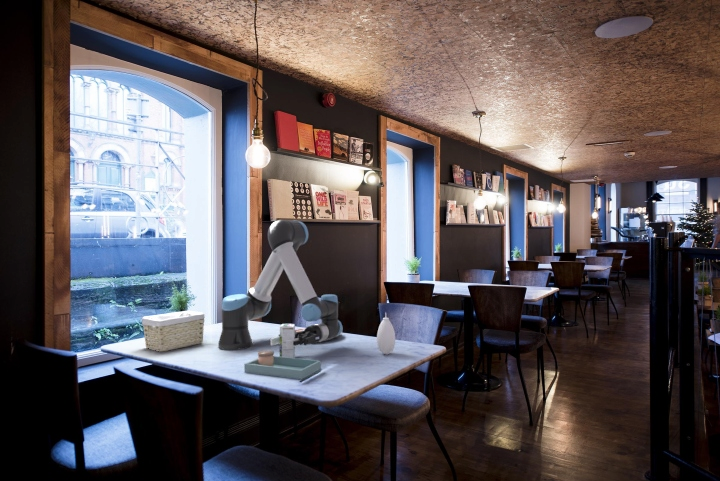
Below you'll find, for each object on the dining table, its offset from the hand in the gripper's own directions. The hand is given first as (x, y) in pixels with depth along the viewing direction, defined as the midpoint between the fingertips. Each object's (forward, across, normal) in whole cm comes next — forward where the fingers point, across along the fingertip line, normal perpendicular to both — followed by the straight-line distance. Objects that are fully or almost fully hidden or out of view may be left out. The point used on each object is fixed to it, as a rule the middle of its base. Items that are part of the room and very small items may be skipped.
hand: (278, 343), depth 185 cm
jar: (+9, -2, -7) cm, 12 cm away
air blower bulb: (-37, -27, -8) cm, 47 cm away
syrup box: (-5, 0, -8) cm, 10 cm away
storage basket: (+1, +66, -9) cm, 66 cm away
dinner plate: (-47, +20, -9) cm, 52 cm away
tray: (+8, -9, -8) cm, 15 cm away
